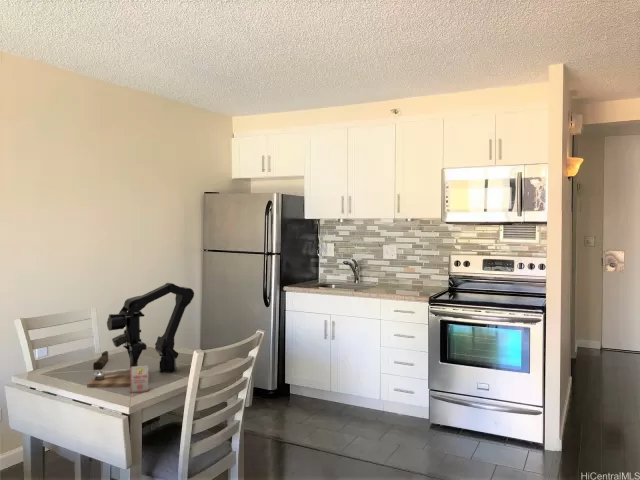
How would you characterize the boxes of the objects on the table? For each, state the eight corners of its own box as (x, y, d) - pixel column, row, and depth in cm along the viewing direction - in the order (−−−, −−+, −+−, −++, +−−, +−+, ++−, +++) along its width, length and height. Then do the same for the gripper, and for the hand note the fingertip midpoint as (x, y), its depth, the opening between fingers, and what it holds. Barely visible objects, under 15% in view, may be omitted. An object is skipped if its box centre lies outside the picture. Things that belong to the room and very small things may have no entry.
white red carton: (130, 390, 218) (130, 365, 217) (148, 388, 220) (148, 364, 219) (130, 392, 214) (130, 368, 214) (148, 391, 216) (148, 366, 216)
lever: (94, 378, 224) (94, 358, 223) (93, 375, 227) (93, 356, 227) (139, 371, 233) (139, 353, 233) (137, 369, 237) (136, 351, 236)
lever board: (148, 373, 241) (148, 367, 241) (136, 386, 222) (136, 380, 222) (103, 373, 240) (103, 367, 240) (87, 387, 221) (87, 380, 221)
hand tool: (102, 370, 246) (102, 360, 246) (92, 370, 246) (93, 360, 246) (112, 359, 265) (112, 350, 265) (104, 359, 264) (104, 350, 264)
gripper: (108, 326, 236) (108, 361, 237) (119, 333, 221) (120, 370, 222) (133, 323, 243) (134, 357, 243) (146, 330, 228) (147, 366, 228)
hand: (133, 362), depth 234 cm, fingers open, 4 cm apart
